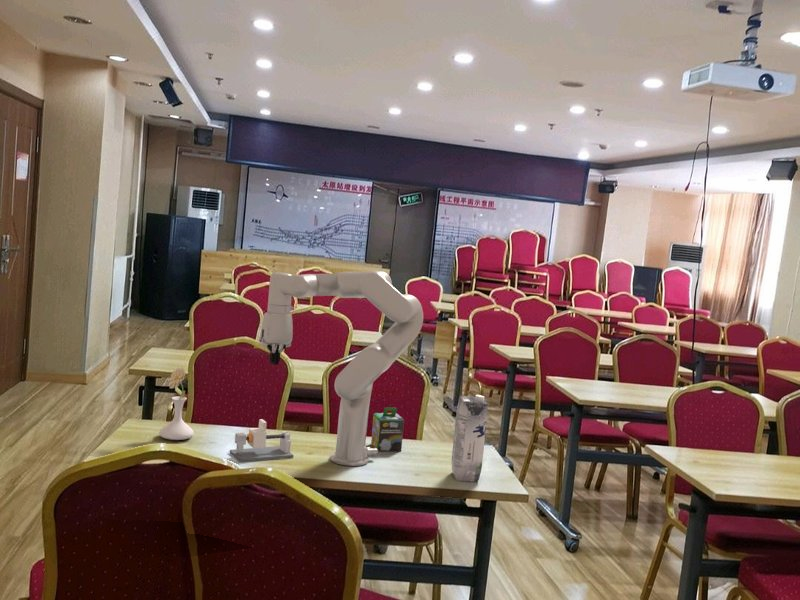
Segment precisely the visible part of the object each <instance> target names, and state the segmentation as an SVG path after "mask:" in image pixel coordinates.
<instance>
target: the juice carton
mask: <svg viewBox="0 0 800 600" xmlns="http://www.w3.org/2000/svg"><path fill="white" fill-rule="evenodd" d="M488 412H489V411H488V403H487V402H486V401H485V396H483V395H481V394H476V395H475V396H472V395H470V396H469V395H459V398H458V403H457V406H456V414H455V425H454V431H453V432H454V433H453V442H452V443H453V445H452V452H451V453H452V454H451V471H452V474H453V475H454V478H455V480H456V481H458V482H459V481H461V482H474V483H475V482H476V483H477V482H479V480H480V477H481V473H482V467H483V461H484V460H483V458H484V450H485V444H486V443H485V440H486V432H487V423H488Z"/></svg>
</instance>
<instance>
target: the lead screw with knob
mask: <svg viewBox="0 0 800 600" xmlns="http://www.w3.org/2000/svg"><path fill="white" fill-rule="evenodd" d="M246 435H247V437H246V443H247V444H248V443H252V440H253V436H252V434H251V433H250V434H249V433H247V434H246ZM284 436H285V434H282V433H281V434H266V440H271V439H280V438H284Z"/></svg>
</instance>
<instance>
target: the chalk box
mask: <svg viewBox="0 0 800 600" xmlns="http://www.w3.org/2000/svg"><path fill="white" fill-rule="evenodd" d="M388 411H392V412H388ZM372 415H373V417H372V429H371V439H370V441H371V442H370V443H371V445H372V447H373V448H377V450H378V452H402V447H403V439H404V438H403V437H404V427H405V419H404V418H403V417H402V416H400V414H398V413H397V407H384V408H383V412H380V413H379V412H374V413H373V414H372Z"/></svg>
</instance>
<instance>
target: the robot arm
mask: <svg viewBox="0 0 800 600" xmlns="http://www.w3.org/2000/svg"><path fill="white" fill-rule="evenodd" d="M325 296H329V297H330V296H333V297H339V298H341V299H354V298H356V299H357V298H358V299H359V298H361V299H362V298H366V299H367V300H368V301H369V302H370V304H372V305H373V306H374V307H375V308H376V309H378V311H380V312H381V314H383V315H384V316H385V317H386V318H387V319H389V320H391V321H392V322H394V323H393V324H392V325H391V326H390V327H389V328H388V329H387V330H386V331H385V333H383V334H382V336H381V337H380V338H378V339H377V340H376V341H375V342H374V343H371V344H370V345H368V346H367V347H364V348H363V349H362V350H360V351H359V353H357V355H355V357H354V358H352V360H351V361H350V362H349V363H348V364H347V365H346V366H345V367H344V368H343V369H342V370H340V372H339V373H338V374H337V375H336V377H335V380H334V386H333V387H334V391H335V393H336V395H337V396H338V397H340V398H341V399H340V402H339V403H340V404H339V413H338V421H337V422H338V423H337V432H336V433H337V434H336V442H335V443H336V444H335V452H332V453H331V454H330V461H332V463H335V464H337V465H341V466H342V465H343V466H349V467H361V466H363V465H367V464H368V463H369V460H370V459H369V456H370V455H377V454H378V452H379V451H378V450H377V448H375V447H373V448H371V447H370V446H366V442H367V441H366V440H367V432H368V430H367V429H368V420H369V413H370V411H369V410H370V402H371V395H372V390H373V386H374V385H373V384H374V382H375V381H376V380H377V379H378V378H379V377H380V376H381V375H382V374H383V373H385V372H386V371H387V370H388V369H389V368H390V367H391V366H392V365H393V364H394V362H395V361H396V360H397V359H398V358H399V357H400V356H401V355H402V354H403V353H404V352H405V351H406V350H407V348H408V347H409V346H410V345H411V344H412V343H413V342H414V340H416V338H417V337H418V335H419V334H420V332H421V329H422V327H423V323H424V311H423V307H422V303H421V302H420V301H419V299H418V298H417V297H416V296H414V295H412V294H410V293H409V294H408V293H405V294H402V293H401V292H400V291H399V290H398V289H396V288H395V287H394V286H393V282H392V279H391V276H390V275H389V274H388V273H387V272H385V271H382V270H364V271H363V270H362V271H360V270H359V271H357V270H356V271H339V272H334V273H305V274H295V275H294V274H291V273H288V272H278V271H276V272H273V273H271V275H270V277H269V289H268V297H267V298H268V302H267V312H264V314H263V317H262V322H261V326H260V327H261V328H260V332H259V334H260V335H259V340H260V346H261V347H263V348H266V349H267V350H268V351H269V362H270V364H272V365H273V366H275V365H279V364H280V363H279V362H280V361H281V354H282V352H283V350H285V349H286V348H290V347H291V346H292V341H293V333H294V332H293V330H294V329H293V327H294V325H293V314H291V312H292V311H293V312H294V311H295V307H294V306H292V297H294V298H301V299H302V298H307V297H325Z"/></svg>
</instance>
